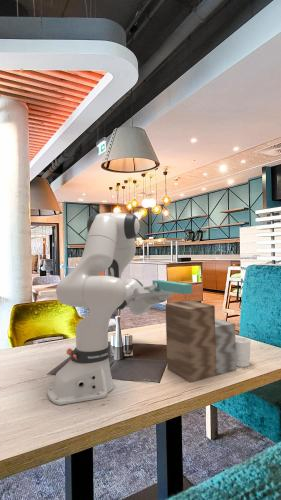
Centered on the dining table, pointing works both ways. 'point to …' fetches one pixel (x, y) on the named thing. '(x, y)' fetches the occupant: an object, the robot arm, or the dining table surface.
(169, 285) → the teal bar
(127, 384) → the dining table surface
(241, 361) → the white cup
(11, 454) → the dining table surface
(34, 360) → the dining table surface
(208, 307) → the stand
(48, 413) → the dining table surface
